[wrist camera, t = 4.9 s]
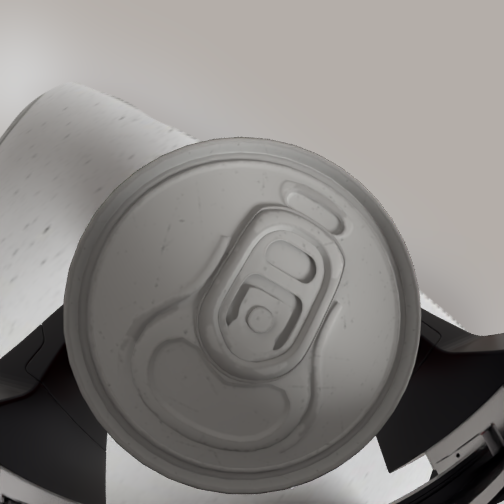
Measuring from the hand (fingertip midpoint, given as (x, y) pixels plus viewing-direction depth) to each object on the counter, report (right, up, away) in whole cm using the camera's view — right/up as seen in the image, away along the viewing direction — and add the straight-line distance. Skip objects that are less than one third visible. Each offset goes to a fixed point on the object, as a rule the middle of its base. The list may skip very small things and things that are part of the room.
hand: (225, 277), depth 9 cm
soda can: (-1, -3, +6) cm, 7 cm away
